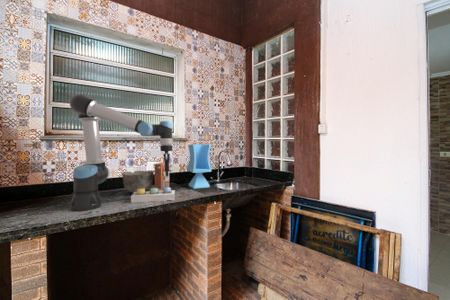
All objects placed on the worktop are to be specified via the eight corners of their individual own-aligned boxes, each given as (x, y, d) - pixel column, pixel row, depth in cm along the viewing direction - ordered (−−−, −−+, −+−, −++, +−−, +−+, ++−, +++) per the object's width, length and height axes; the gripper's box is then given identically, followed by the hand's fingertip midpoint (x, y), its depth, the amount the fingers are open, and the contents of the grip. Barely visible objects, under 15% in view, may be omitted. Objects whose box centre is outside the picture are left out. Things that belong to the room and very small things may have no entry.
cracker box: (170, 190, 173) (161, 194, 159) (162, 189, 175) (152, 194, 160) (170, 162, 172) (161, 164, 158) (162, 162, 174) (152, 164, 159)
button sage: (149, 194, 142) (149, 189, 142) (150, 193, 147) (150, 187, 147) (157, 194, 143) (157, 189, 143) (158, 192, 148) (158, 187, 148)
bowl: (157, 189, 176) (157, 170, 175) (148, 195, 154) (148, 174, 154) (129, 189, 175) (128, 170, 175) (116, 196, 153) (116, 174, 153)
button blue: (162, 194, 144) (162, 188, 144) (163, 192, 149) (163, 187, 149) (170, 193, 145) (170, 188, 145) (170, 192, 150) (170, 186, 150)
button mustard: (136, 195, 140) (136, 190, 140) (137, 193, 145) (137, 188, 145) (144, 195, 141) (144, 189, 141) (145, 193, 146) (145, 188, 146)
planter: (193, 189, 176) (193, 144, 175) (187, 185, 190) (186, 144, 189) (211, 187, 183) (211, 144, 182) (204, 184, 197) (204, 144, 196)
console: (131, 202, 136) (130, 196, 136) (134, 198, 148) (134, 192, 148) (174, 200, 142) (174, 194, 142) (174, 195, 154) (174, 190, 154)
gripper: (172, 145, 140) (173, 182, 141) (172, 144, 153) (173, 179, 154) (159, 145, 139) (160, 183, 139) (161, 145, 151) (161, 179, 152)
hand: (167, 181), depth 147 cm, fingers closed
